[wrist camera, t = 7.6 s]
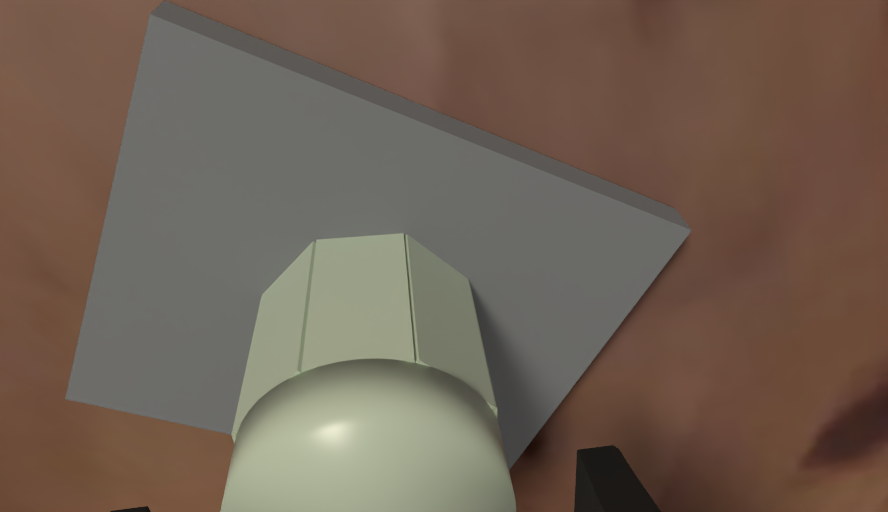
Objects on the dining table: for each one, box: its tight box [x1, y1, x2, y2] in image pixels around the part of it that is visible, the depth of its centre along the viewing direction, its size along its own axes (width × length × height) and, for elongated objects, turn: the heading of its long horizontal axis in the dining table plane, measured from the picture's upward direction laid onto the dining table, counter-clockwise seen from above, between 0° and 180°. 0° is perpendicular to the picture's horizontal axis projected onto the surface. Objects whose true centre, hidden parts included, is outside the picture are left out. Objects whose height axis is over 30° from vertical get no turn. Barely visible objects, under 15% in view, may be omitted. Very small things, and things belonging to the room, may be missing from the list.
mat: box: [65, 0, 692, 470], centre depth 16 cm, size 12×10×1 cm
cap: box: [220, 233, 516, 512], centre depth 13 cm, size 5×5×6 cm
